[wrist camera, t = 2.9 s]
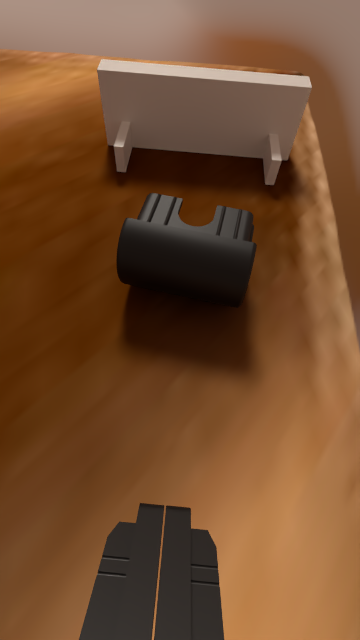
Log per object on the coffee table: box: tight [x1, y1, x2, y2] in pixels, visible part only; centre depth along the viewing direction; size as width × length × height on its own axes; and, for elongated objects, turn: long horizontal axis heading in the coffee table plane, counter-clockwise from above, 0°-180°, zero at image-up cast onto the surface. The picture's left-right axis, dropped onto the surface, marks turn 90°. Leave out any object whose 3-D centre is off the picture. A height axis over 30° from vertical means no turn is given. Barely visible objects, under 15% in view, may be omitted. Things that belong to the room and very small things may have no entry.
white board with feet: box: [97, 59, 312, 185], centre depth 37 cm, size 22×7×8 cm, turn 85°
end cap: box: [117, 193, 257, 308], centre depth 28 cm, size 10×7×7 cm
